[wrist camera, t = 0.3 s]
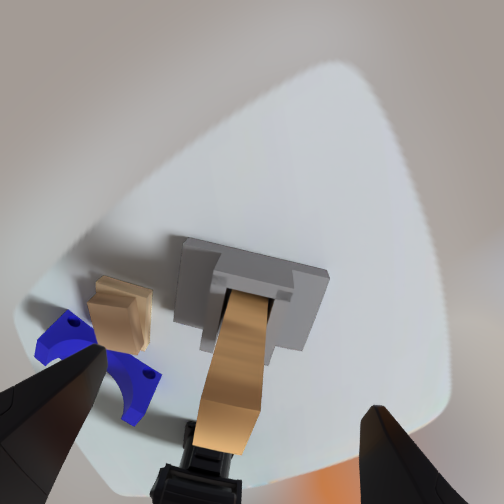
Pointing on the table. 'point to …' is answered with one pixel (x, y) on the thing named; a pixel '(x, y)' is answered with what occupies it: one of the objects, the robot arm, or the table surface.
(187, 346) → the table surface
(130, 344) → the upper offcut
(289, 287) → the rack
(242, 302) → the tall strip
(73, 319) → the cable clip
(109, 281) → the lower offcut
